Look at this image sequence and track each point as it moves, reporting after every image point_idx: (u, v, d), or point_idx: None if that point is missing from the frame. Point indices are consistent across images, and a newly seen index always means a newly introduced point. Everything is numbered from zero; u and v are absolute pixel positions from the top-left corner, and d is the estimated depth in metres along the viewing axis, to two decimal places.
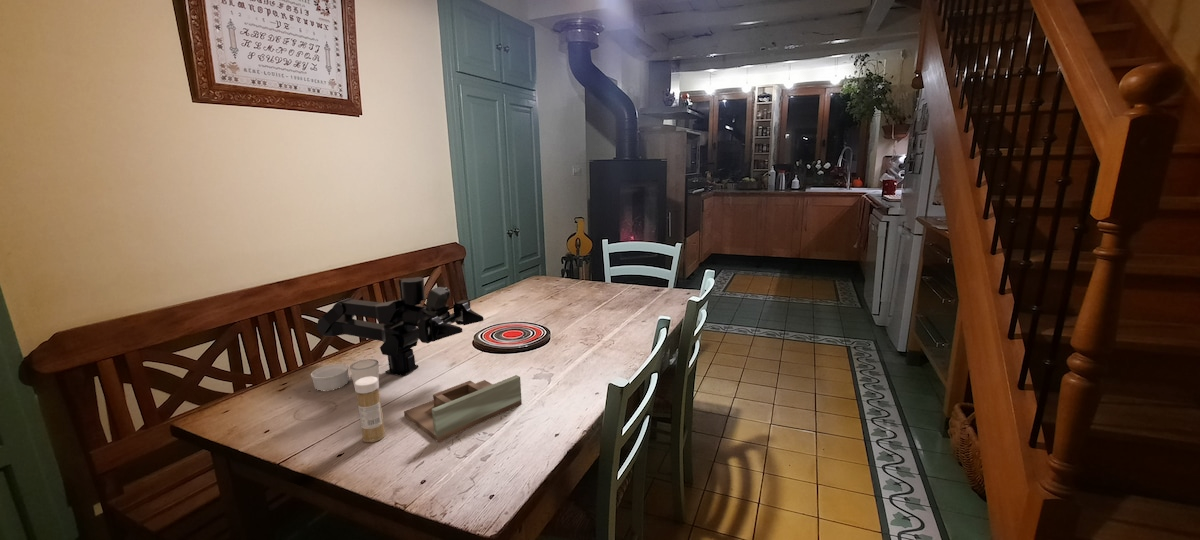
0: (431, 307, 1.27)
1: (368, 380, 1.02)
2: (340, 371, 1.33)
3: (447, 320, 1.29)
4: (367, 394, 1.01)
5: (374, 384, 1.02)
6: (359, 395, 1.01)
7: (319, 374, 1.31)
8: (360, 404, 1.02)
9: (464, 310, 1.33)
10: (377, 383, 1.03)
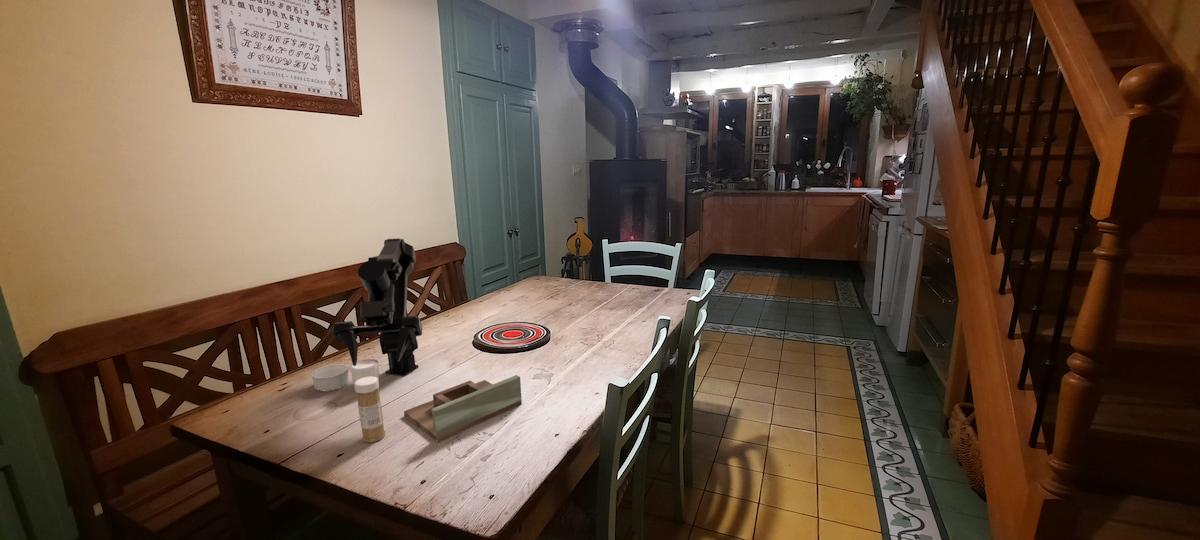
0: None
1: (368, 380, 1.02)
2: (340, 371, 1.33)
3: (377, 331, 1.14)
4: (367, 394, 1.01)
5: (374, 384, 1.02)
6: (359, 395, 1.01)
7: (319, 374, 1.31)
8: (360, 404, 1.02)
9: None
10: (377, 383, 1.03)
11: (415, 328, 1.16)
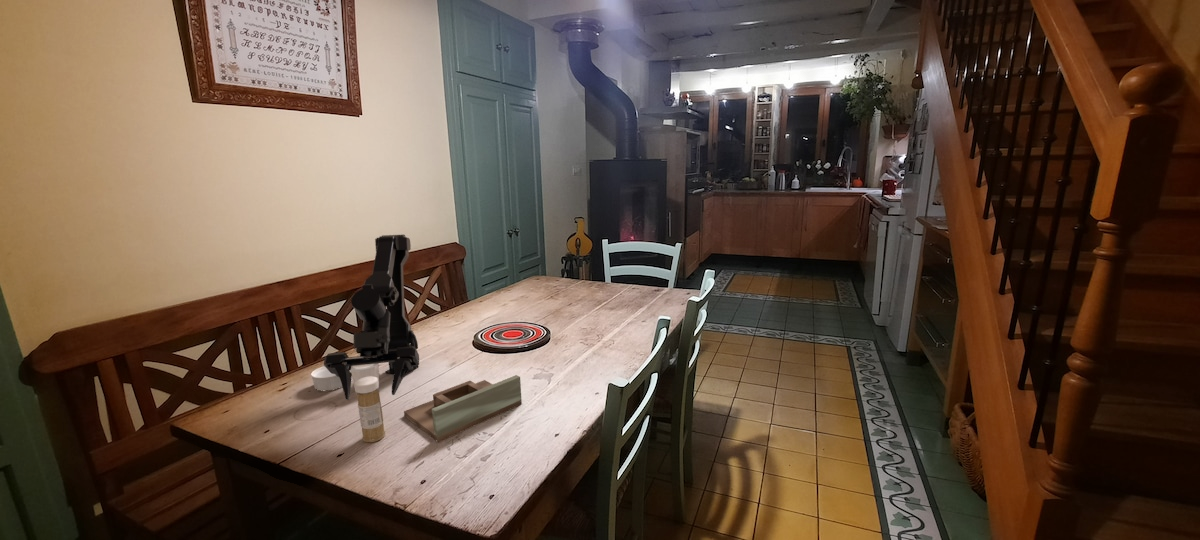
0: None
1: (368, 380, 1.02)
2: None
3: (372, 362, 1.09)
4: (367, 394, 1.01)
5: (374, 384, 1.02)
6: (359, 395, 1.01)
7: (319, 374, 1.31)
8: (360, 404, 1.02)
9: None
10: (377, 383, 1.03)
11: (411, 359, 1.10)
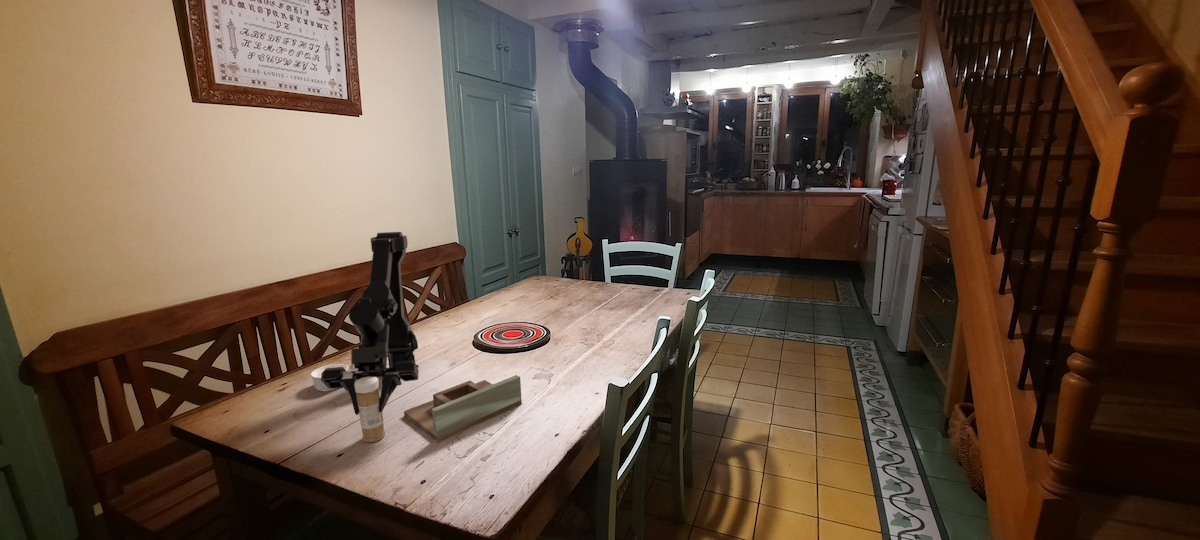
0: None
1: (368, 380, 1.02)
2: None
3: None
4: (367, 394, 1.01)
5: (374, 384, 1.02)
6: (359, 395, 1.01)
7: (319, 374, 1.31)
8: (360, 404, 1.02)
9: None
10: (377, 383, 1.03)
11: (400, 374, 1.08)
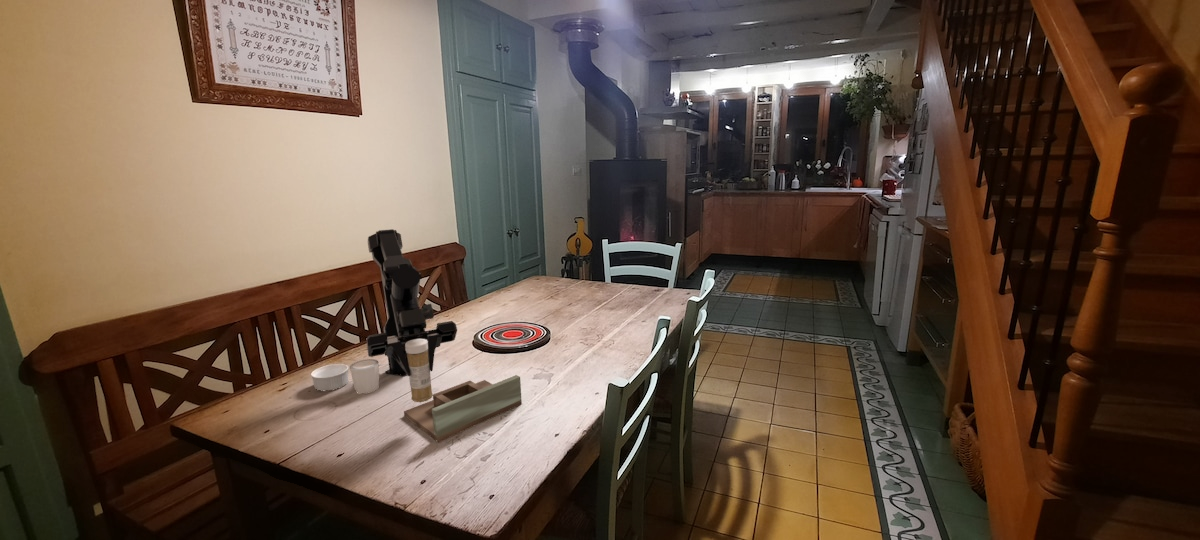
0: (399, 323, 1.06)
1: (419, 341, 1.06)
2: (340, 371, 1.33)
3: None
4: (421, 354, 1.05)
5: (426, 344, 1.05)
6: (412, 356, 1.04)
7: (319, 374, 1.31)
8: (413, 365, 1.05)
9: (428, 342, 1.09)
10: (427, 343, 1.06)
11: None
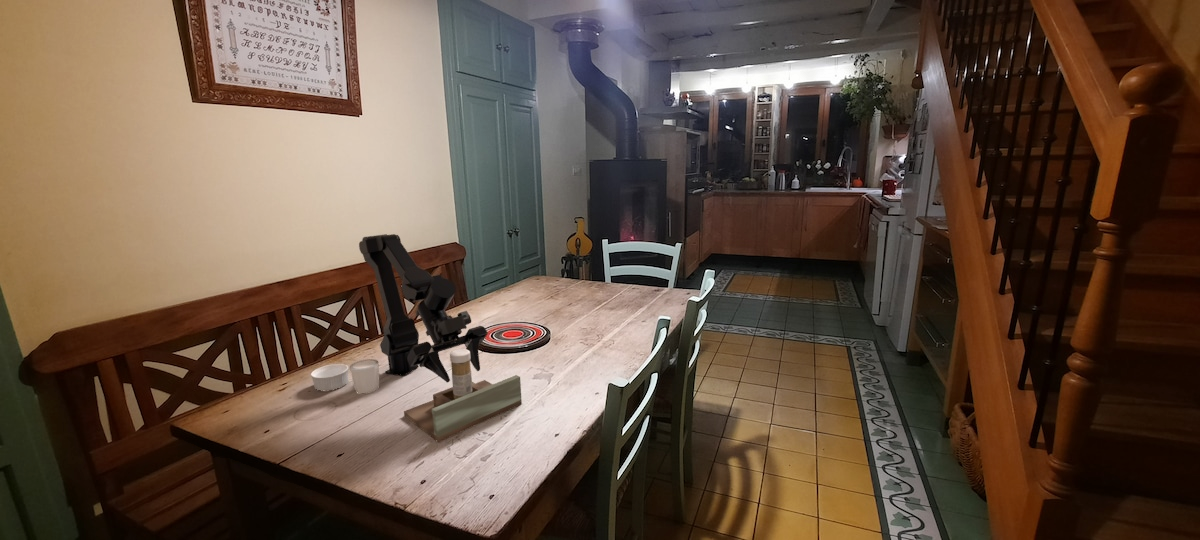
0: (439, 331, 1.12)
1: (462, 351, 1.14)
2: (340, 371, 1.33)
3: (449, 347, 1.16)
4: (467, 362, 1.13)
5: None
6: (459, 365, 1.12)
7: (319, 374, 1.31)
8: (460, 373, 1.12)
9: (471, 345, 1.17)
10: None
11: None
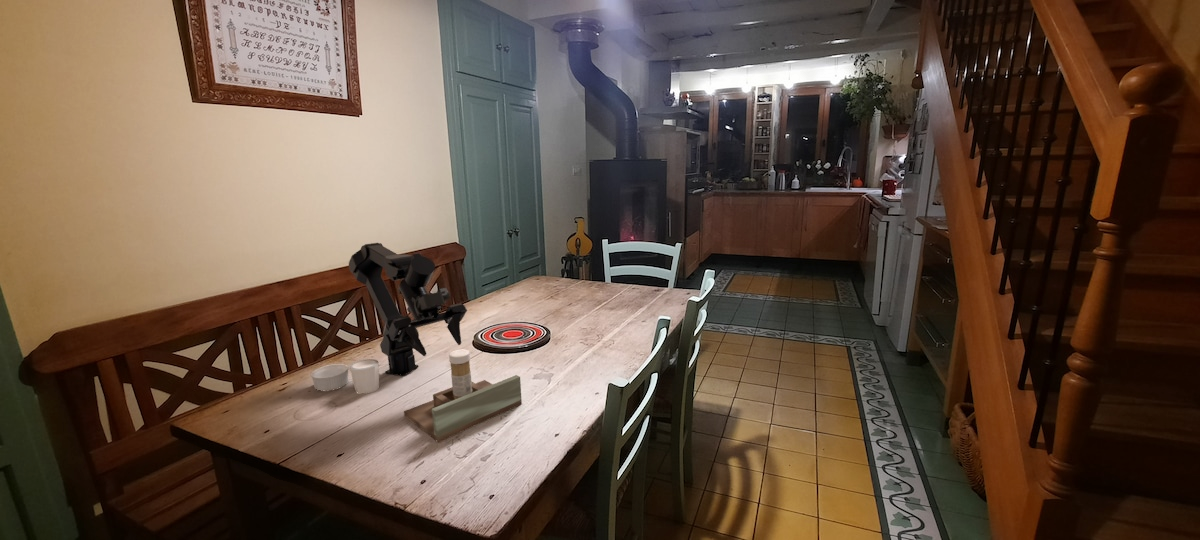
0: (419, 307, 1.18)
1: (461, 352, 1.13)
2: (340, 371, 1.33)
3: (429, 323, 1.21)
4: (466, 363, 1.13)
5: None
6: (459, 366, 1.12)
7: (319, 374, 1.31)
8: (459, 374, 1.12)
9: (452, 320, 1.23)
10: None
11: None
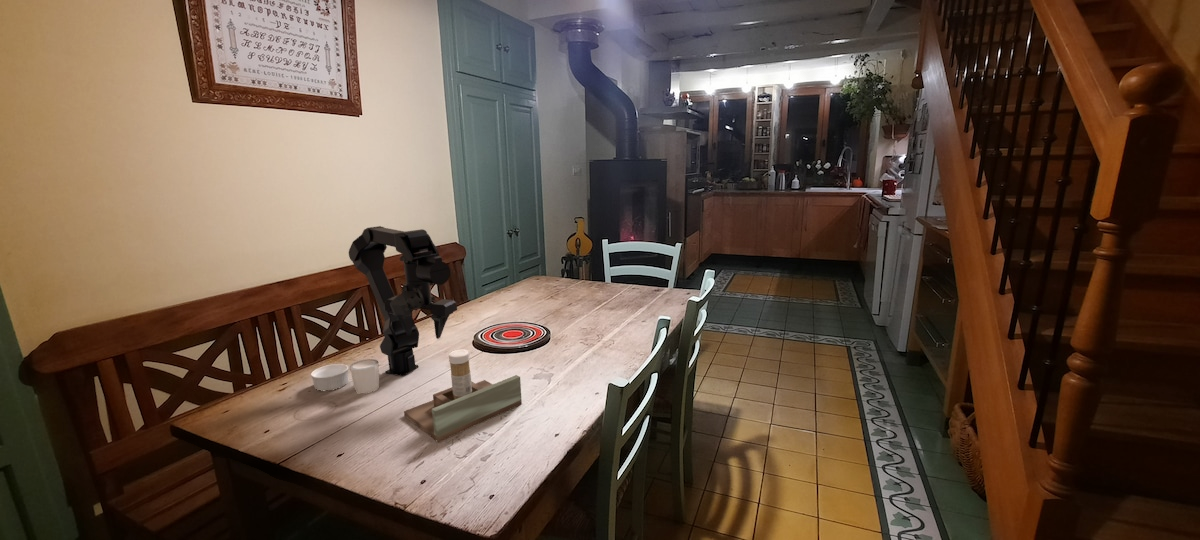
0: None
1: (461, 352, 1.13)
2: (340, 371, 1.33)
3: None
4: (466, 363, 1.13)
5: (468, 353, 1.14)
6: (458, 366, 1.12)
7: (319, 374, 1.31)
8: (459, 374, 1.12)
9: None
10: None
11: None
